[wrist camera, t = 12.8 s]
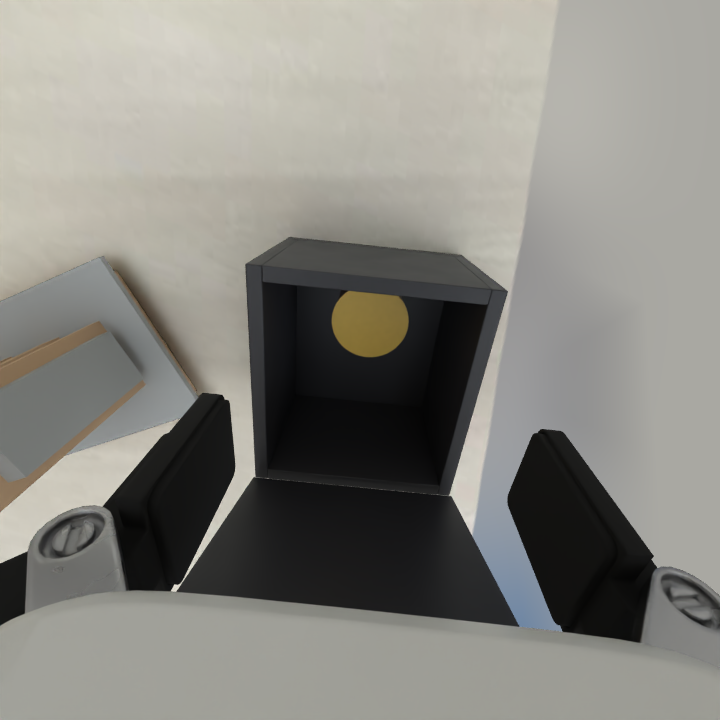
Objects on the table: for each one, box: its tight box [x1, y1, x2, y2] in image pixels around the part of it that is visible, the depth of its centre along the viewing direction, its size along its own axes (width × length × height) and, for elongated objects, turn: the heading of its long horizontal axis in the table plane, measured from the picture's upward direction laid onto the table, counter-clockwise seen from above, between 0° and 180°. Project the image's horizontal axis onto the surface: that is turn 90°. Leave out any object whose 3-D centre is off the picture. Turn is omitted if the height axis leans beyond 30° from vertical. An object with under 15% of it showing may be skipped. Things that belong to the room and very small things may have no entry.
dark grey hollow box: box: [245, 237, 508, 496], centre depth 24 cm, size 14×13×10 cm
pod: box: [332, 290, 409, 357], centre depth 24 cm, size 5×5×5 cm
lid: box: [177, 477, 519, 627], centre depth 15 cm, size 14×13×5 cm
